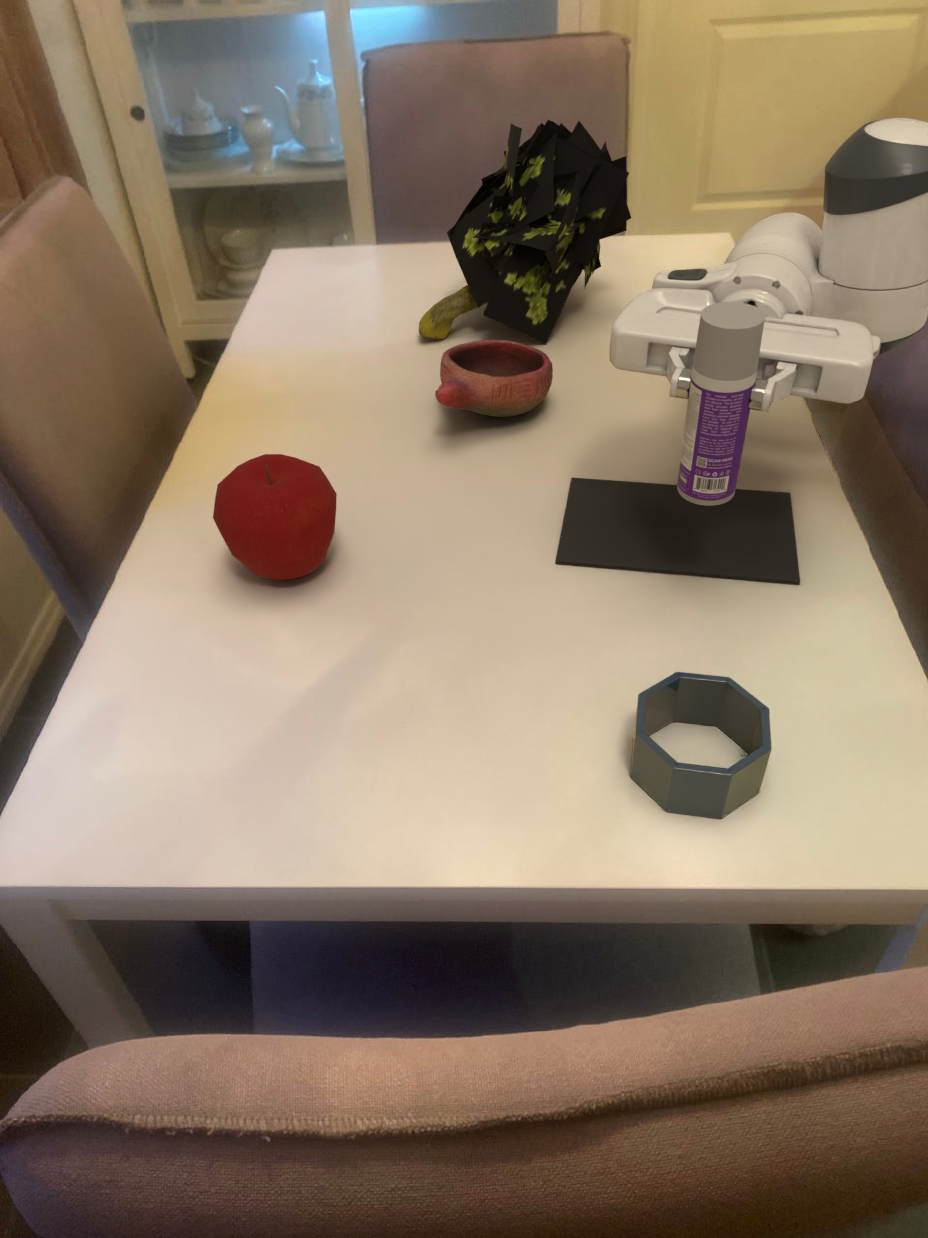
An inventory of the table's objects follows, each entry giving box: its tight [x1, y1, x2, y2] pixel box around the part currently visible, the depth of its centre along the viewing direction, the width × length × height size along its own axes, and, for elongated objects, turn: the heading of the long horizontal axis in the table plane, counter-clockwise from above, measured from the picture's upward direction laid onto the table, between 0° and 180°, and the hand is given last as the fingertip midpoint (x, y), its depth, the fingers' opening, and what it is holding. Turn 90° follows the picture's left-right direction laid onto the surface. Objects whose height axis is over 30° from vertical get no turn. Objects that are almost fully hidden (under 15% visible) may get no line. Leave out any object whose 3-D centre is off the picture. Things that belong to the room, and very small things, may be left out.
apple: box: [212, 453, 337, 581], centre depth 83 cm, size 11×11×12 cm
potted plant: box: [418, 119, 632, 345], centre depth 119 cm, size 21×22×30 cm
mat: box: [555, 477, 801, 586], centre depth 89 cm, size 22×14×1 cm, turn 79°
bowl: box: [434, 339, 554, 418], centre depth 104 cm, size 16×13×8 cm
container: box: [676, 302, 765, 506], centre depth 70 cm, size 5×5×15 cm
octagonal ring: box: [629, 671, 773, 820], centre depth 66 cm, size 9×9×5 cm
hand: (718, 395), depth 69 cm, fingers closed on container, 4 cm apart
